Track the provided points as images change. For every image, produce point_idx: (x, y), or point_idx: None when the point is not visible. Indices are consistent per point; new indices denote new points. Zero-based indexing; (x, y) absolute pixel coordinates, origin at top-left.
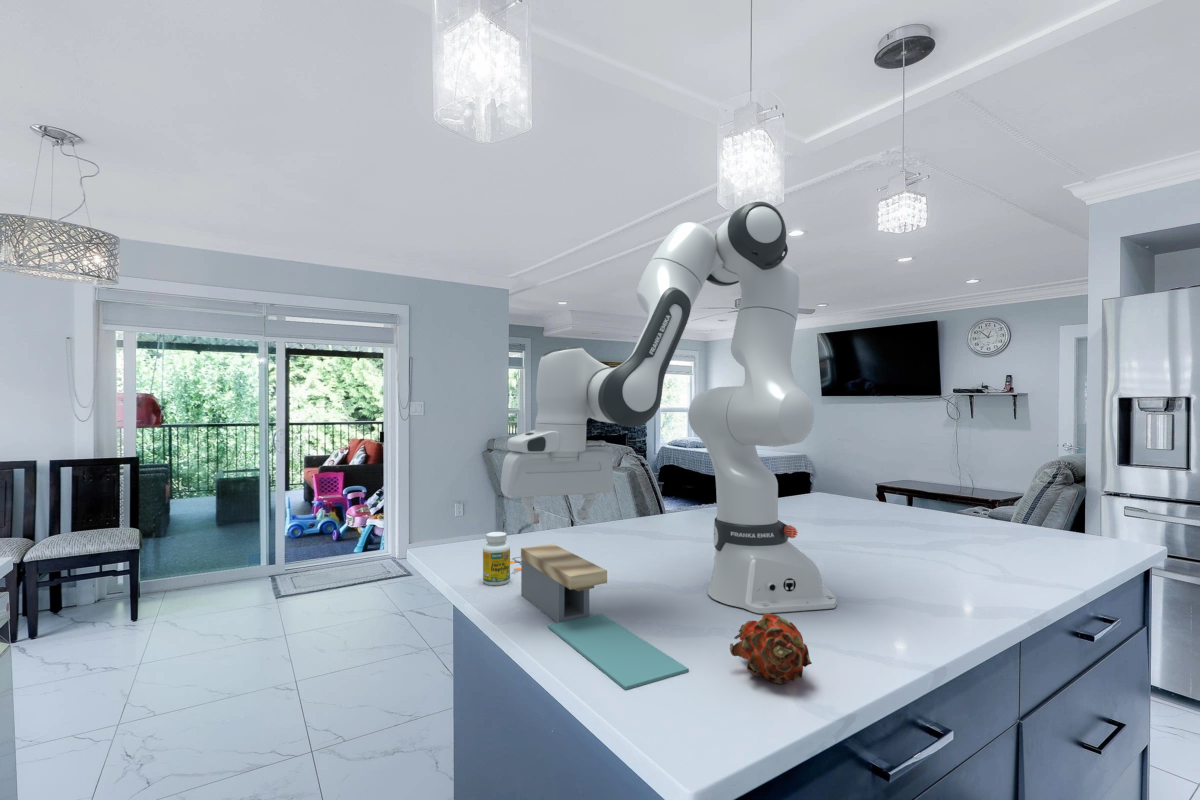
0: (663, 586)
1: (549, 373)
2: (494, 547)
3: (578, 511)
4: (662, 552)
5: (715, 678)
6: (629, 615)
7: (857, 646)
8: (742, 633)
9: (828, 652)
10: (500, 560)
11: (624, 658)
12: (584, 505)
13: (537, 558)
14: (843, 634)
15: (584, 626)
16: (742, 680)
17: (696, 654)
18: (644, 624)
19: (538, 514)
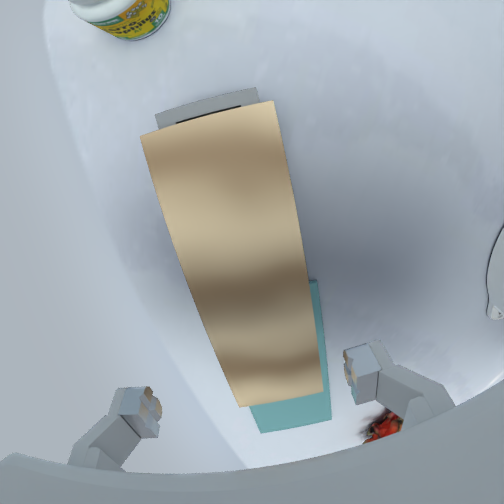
0: (475, 167)
1: None
2: (89, 11)
3: (353, 379)
4: None
5: (344, 424)
6: (360, 286)
7: (476, 382)
8: (393, 428)
9: (453, 391)
10: (120, 24)
11: (282, 402)
12: (390, 390)
13: (183, 270)
14: (490, 363)
15: None
16: (360, 426)
17: None
18: (361, 322)
19: (154, 434)
